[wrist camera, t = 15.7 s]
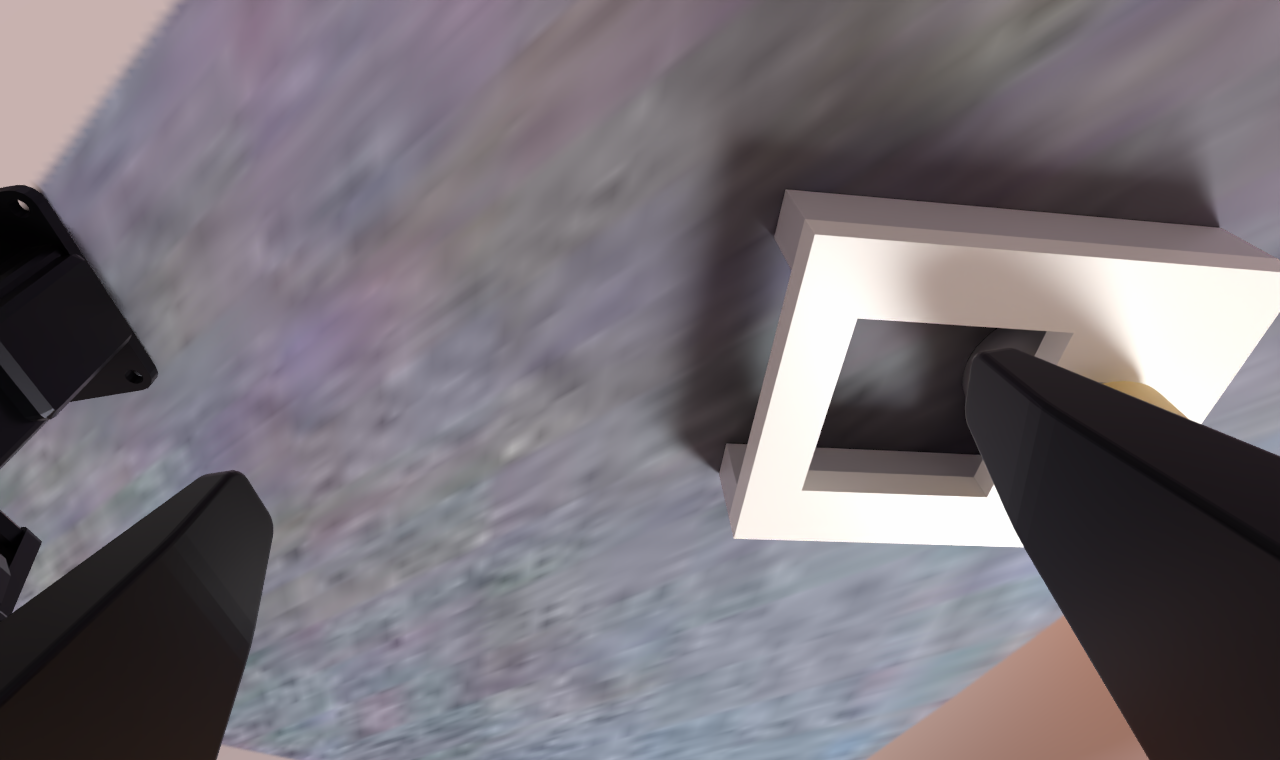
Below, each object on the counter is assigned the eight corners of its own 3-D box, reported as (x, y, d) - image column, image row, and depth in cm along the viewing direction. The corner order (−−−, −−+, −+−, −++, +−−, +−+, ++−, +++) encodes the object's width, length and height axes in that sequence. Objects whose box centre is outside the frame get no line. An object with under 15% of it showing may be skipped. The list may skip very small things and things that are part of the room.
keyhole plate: (719, 474, 27) (733, 538, 24) (785, 189, 21) (814, 234, 18) (1064, 488, 29) (1113, 549, 26) (1221, 228, 22) (1305, 274, 20)
